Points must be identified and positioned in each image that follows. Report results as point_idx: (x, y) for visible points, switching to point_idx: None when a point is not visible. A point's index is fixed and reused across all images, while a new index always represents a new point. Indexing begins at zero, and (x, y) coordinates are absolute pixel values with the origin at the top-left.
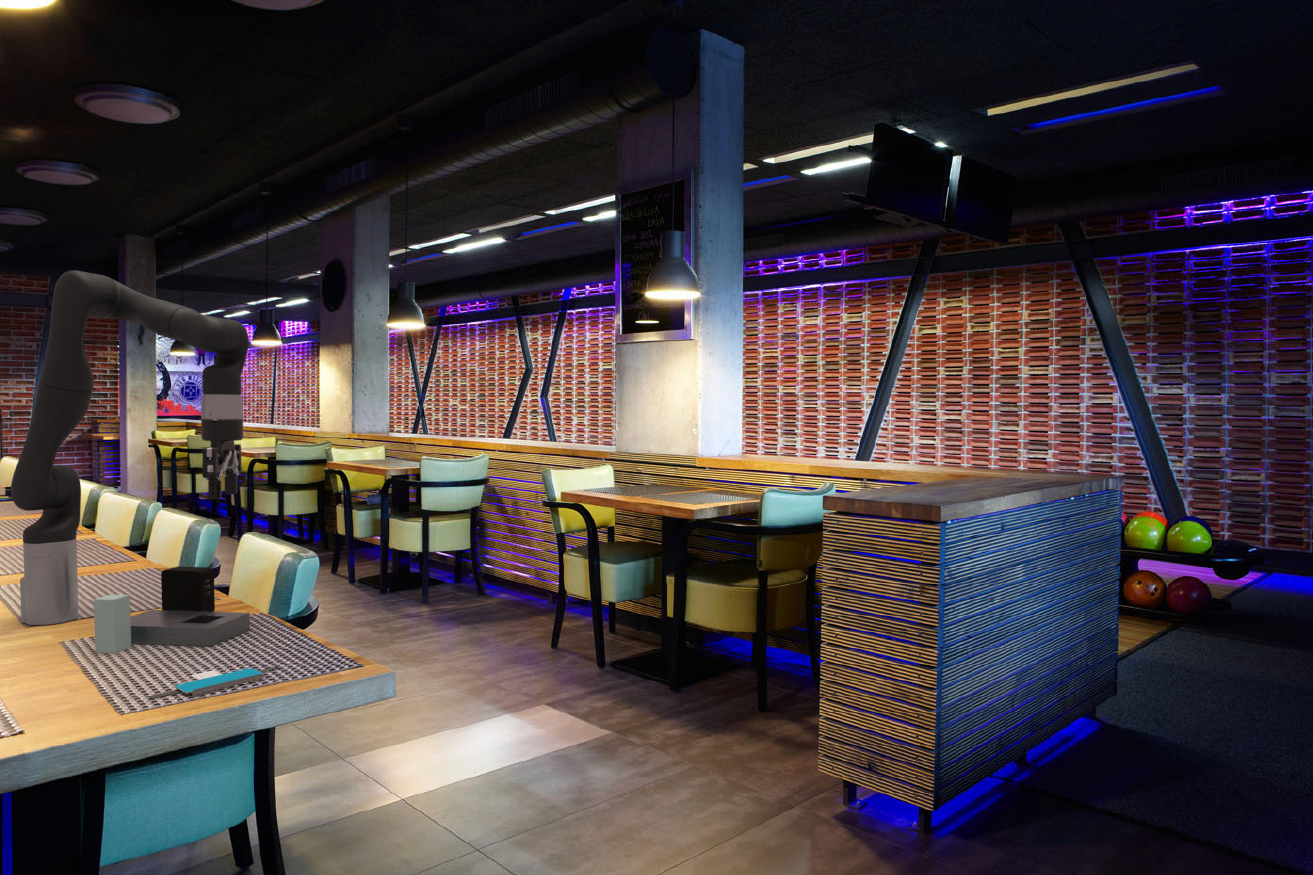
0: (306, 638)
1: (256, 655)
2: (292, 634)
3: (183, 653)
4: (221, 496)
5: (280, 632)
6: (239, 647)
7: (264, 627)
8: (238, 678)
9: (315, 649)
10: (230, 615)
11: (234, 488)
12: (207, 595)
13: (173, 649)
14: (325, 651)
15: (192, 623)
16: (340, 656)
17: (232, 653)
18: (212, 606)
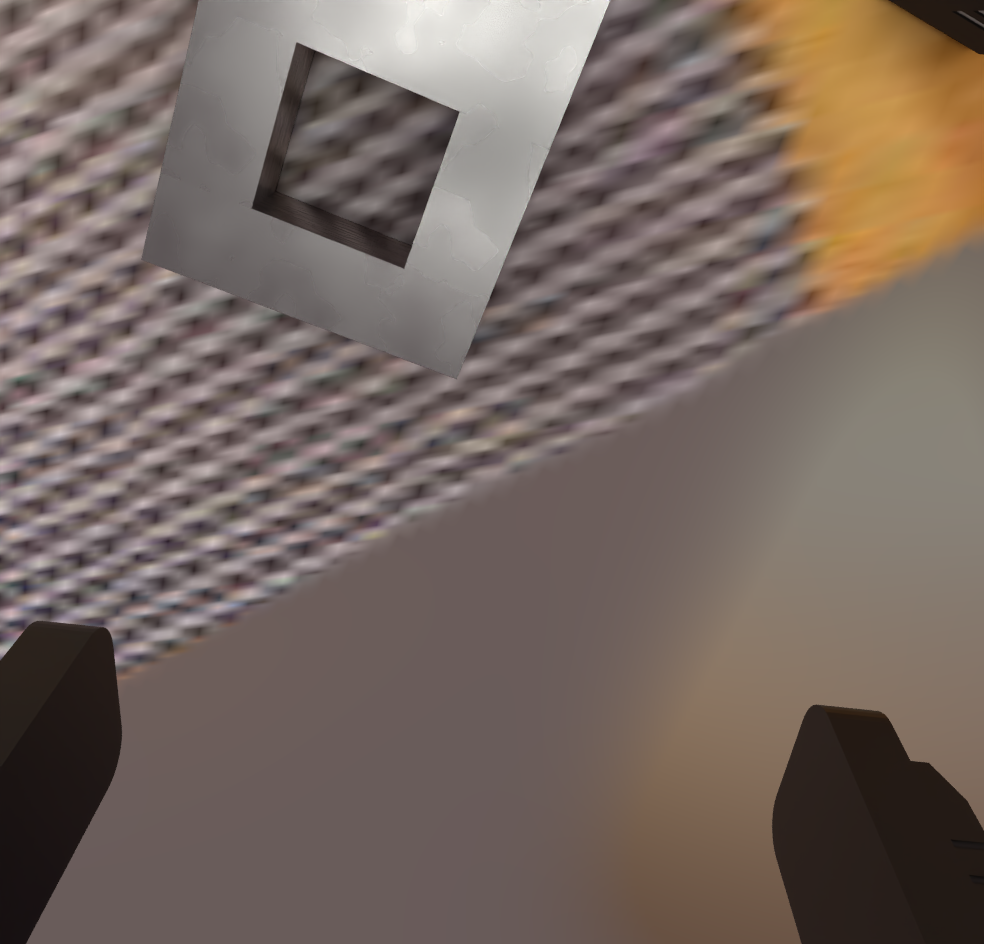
0: (261, 594)
1: (26, 458)
2: (336, 537)
3: (72, 135)
4: (107, 787)
5: (382, 486)
6: (153, 367)
7: (494, 404)
8: None
9: None
10: (418, 293)
11: (800, 898)
12: (974, 24)
13: (148, 57)
14: None
15: (265, 127)
16: None
17: (60, 359)
18: (971, 44)
